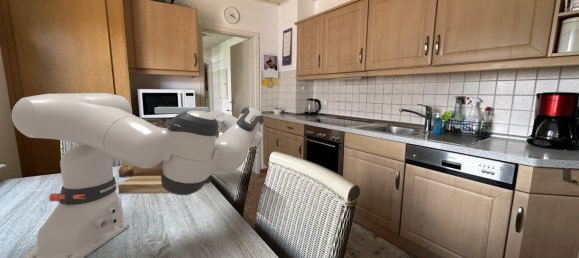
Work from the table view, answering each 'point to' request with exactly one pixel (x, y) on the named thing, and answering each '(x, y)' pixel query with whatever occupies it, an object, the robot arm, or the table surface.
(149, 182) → the board
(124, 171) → the bread roll
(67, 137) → the robot arm
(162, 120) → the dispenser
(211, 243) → the table surface
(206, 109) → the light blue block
